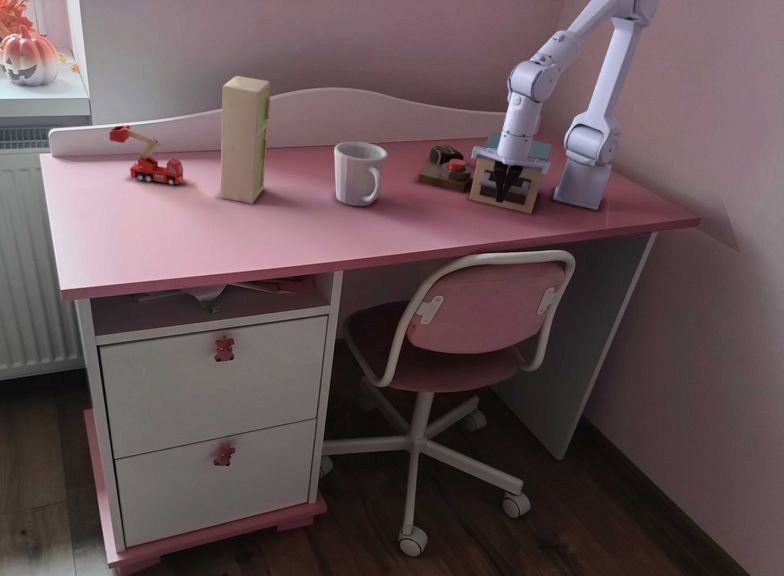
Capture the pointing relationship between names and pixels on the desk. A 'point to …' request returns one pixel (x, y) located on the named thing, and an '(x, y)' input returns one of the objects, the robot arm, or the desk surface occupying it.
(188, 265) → the desk surface
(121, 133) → the toy fire truck
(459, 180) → the timer block
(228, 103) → the toy refrigerator
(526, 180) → the oven door
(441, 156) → the tape measure
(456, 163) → the button
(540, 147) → the toy oven
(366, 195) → the mug
